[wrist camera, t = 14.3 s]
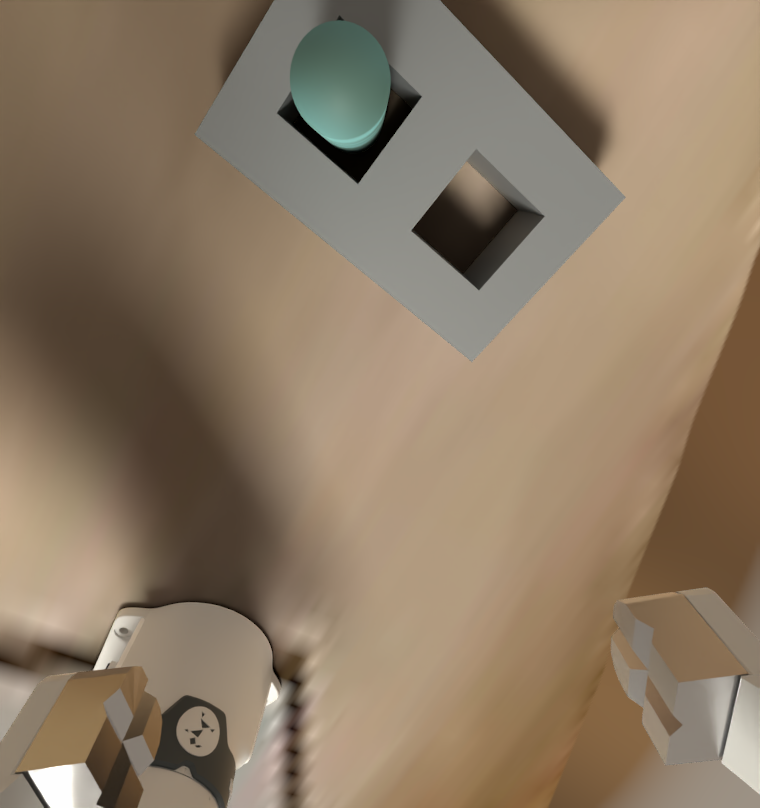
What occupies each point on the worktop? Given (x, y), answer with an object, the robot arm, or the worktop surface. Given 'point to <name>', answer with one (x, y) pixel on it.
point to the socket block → (417, 163)
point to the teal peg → (341, 84)
